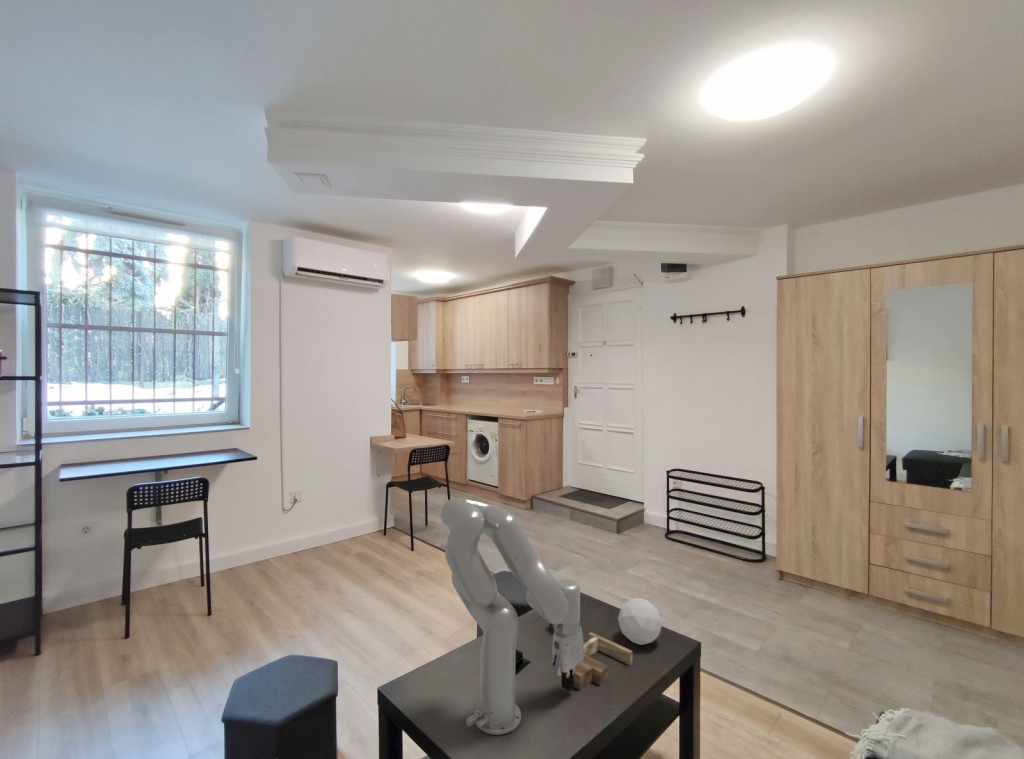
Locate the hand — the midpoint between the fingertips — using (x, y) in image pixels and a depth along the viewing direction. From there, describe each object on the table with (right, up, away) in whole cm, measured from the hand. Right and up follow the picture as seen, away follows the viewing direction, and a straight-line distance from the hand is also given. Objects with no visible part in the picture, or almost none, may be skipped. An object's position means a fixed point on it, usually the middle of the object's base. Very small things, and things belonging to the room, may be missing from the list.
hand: (567, 687), depth 136 cm
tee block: (+7, -2, +7) cm, 10 cm away
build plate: (-15, -2, +13) cm, 20 cm away
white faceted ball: (+29, -2, +28) cm, 40 cm away
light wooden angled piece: (+12, -2, +15) cm, 20 cm away
